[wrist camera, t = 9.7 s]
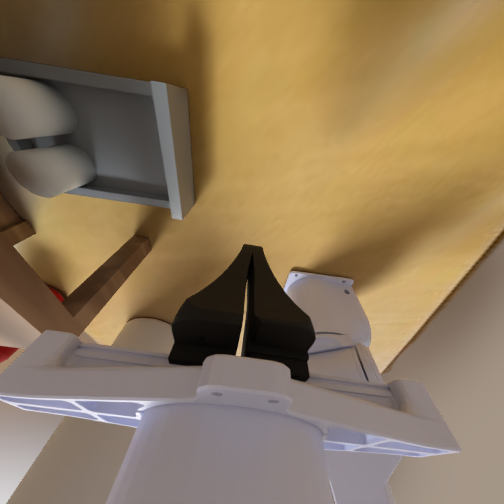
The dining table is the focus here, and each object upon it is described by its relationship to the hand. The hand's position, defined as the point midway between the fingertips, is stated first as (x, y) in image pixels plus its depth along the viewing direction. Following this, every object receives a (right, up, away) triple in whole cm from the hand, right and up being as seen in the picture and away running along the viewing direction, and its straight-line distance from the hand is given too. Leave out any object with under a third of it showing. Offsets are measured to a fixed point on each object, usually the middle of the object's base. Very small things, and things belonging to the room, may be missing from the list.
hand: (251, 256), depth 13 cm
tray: (-14, +11, +4) cm, 18 cm away
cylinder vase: (-21, -17, +27) cm, 39 cm away
